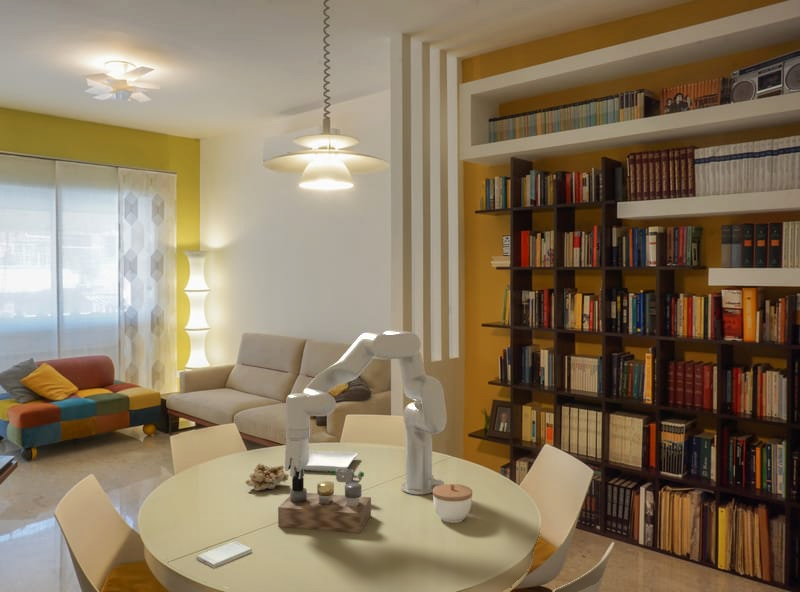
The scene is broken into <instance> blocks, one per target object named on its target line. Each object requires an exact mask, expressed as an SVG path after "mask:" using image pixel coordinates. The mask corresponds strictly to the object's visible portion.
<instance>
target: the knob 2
mask: <svg viewBox="0 0 800 592" xmlns="http://www.w3.org/2000/svg"><path fill="white" fill-rule="evenodd" d="M362 491H363V490H362V484H360V483H349V484H346V483H345V485H344V495H345V497H347V506H351V507H358V506H359V497H362Z"/></svg>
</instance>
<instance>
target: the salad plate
mask: <svg viewBox="0 0 800 592" xmlns="http://www.w3.org/2000/svg"><path fill="white" fill-rule="evenodd" d="M358 456H359V453H358V452H351V451H335V450H334V451H330V450H329V451H327V450H326V451H325V450H309V462H308V464H307V465H306V466H305V468H304V471H309V470H310V471H312V472H313V471H314V472H328V471H330V472H331V473H332V472H333V471H335V470H338V469H349V466H350V465H351V464H352V462H354V460H355V459H356V458H357V457H358ZM333 473H334V472H333Z"/></svg>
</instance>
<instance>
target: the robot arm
mask: <svg viewBox="0 0 800 592" xmlns="http://www.w3.org/2000/svg"><path fill="white" fill-rule="evenodd" d="M421 344H422V343H421V339H420V337H419V336H418V335H417V334H416V333H415V332H411V331H404V330H399V329H388V330H385V331H384V332H383V333H378V332H371V331H366V332H363V333H362V334H360V335H359V336H358V337H357V338H356V340H355V341H354V342H353V343H352V344H351V345H350V347H348V349H347V350H346V351H345V352H344V354H342V356H341V357H340V358H339V359H338V360H337V361H336V362H335V363H334V364H333V363H332V365H330V366H328V368H325V369H324V370H322V371H321V372H320V373H318V374H317V375H316V376H315V377H314V378H312V380H311V381H310V382H309V383H308V384H307V385H306V387H305V388H304V389H303V391H302V392H300V393H299V392H297V393H296V392H295V393H290V394H288V395H287V396H286V398H285V439H286V444H285V451H284V453H285V455H284V470H285V471H284V472H288V471H290V472H289V477H291V482H292V483H291V489H292V490H293V491H302V490H303V489H304V488H305V486H304V479H305V478H304V476H305V470H304V468H305V466H306V465H307V464H308V462H309V452H310V447H309V446H310V444H309V443H310V442H309V439H310V438H311V417H326V416H329V415H330V414H332V413H333V412H335V410H336V405H337V402H336V399H335V397H334V396H333V395H332V394H330V393H329V392H330V391H331V390H333V389H334V388H336V387H337V386H339V385H342V384H346V383H349V382H351V381H354V380H356V379H357V378H359V376H360V375H361V374H362V373H363V372H364V370H365V369H366V367H368V366H369V364H370V363H371V362H372V361H373V359H377V360H394V359H395V360H397V361H398V365H399V369H400V375H401V383H402V389H403V393H404V396H405V397H406V398H408V399H410V400H412V401H413V402H410V403H408V404H407V405H406V406H405V407H404V410H403V412H402V413H403V414H402V418H403V424H404V432H405V482H403V483H402V484H401V485H400V486H401V490H402V491H403V492H405V494H411V495H428V494H431V493H432V494H433V489H434V488H435V487H436V486H439V485H444V484H445V481H443V480H442V479H436V478H435V477H434V476H435V475H434V474H433V437H432V434H433V435H436V434H439V433H440V434H441V432H442V431H444V429H445V427H446V425H447V417H448V416H447V409H446V408H447V407H446V399H445V393H444V388H443V385H442V384H441V381H439V379H437V378H436V377H434V376H431V375H427V374H426V371H425V365H424V359H423V356H422V354H421V351H420V350H421V346H422V345H421Z"/></svg>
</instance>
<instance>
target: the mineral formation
mask: <svg viewBox="0 0 800 592" xmlns="http://www.w3.org/2000/svg"><path fill="white" fill-rule="evenodd" d="M284 470H285V465H276V466H267V465H265V464H264V463H257V465H256V466H255V469H253V473H250V475H249V478H250V479H247V480H245V482H244V483H245V484H246V485H247V486H248V487H253V488H254V491H257V492H258V491H261V490H265V489H270V490H273V489H275V487H276V486H278V485H280V483H282V482H284V483H285V482H287V481H289V477H290V474H288V473H285V471H284Z"/></svg>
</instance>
